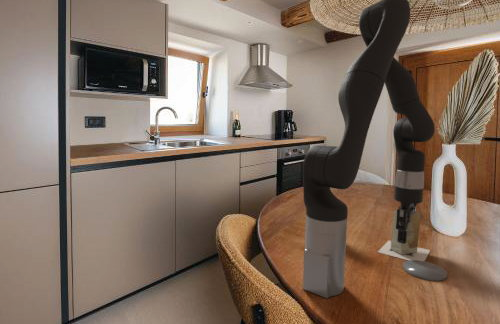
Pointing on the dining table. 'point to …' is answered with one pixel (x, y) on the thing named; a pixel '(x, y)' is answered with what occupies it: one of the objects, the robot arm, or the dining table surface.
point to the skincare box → (411, 235)
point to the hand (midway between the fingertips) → (404, 238)
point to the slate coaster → (425, 270)
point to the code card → (418, 256)
